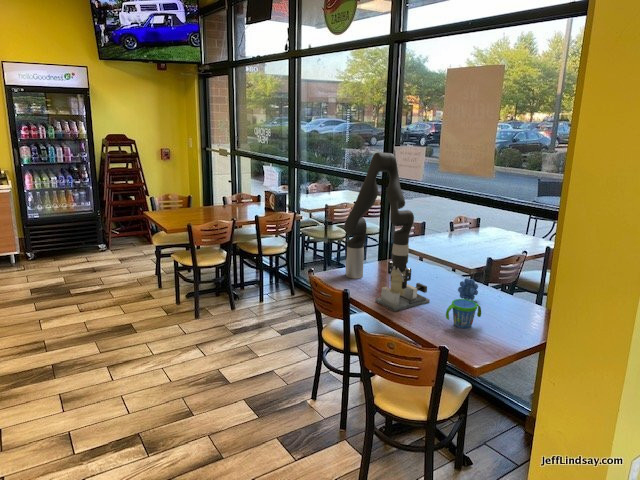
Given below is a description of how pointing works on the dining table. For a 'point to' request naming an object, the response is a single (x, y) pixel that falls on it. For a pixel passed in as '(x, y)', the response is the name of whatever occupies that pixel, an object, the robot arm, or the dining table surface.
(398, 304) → the vise
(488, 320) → the dining table surface
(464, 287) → the grapes
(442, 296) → the dining table surface
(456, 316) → the snack cup
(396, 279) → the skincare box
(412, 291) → the free jaw
